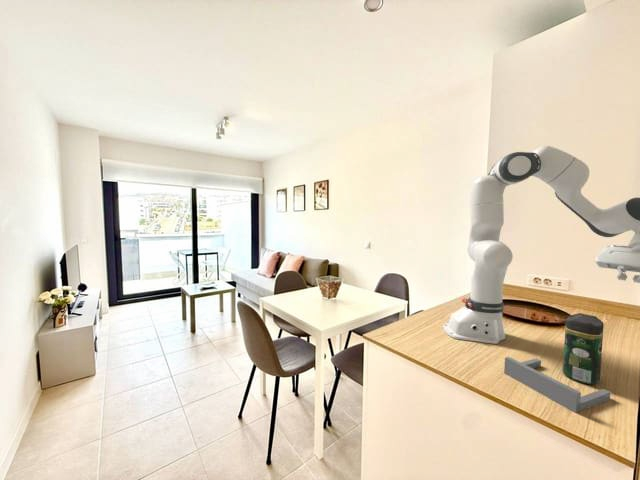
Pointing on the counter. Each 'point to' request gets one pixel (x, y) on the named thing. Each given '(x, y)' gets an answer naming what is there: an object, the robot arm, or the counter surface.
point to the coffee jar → (583, 348)
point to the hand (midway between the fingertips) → (628, 280)
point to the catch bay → (552, 385)
